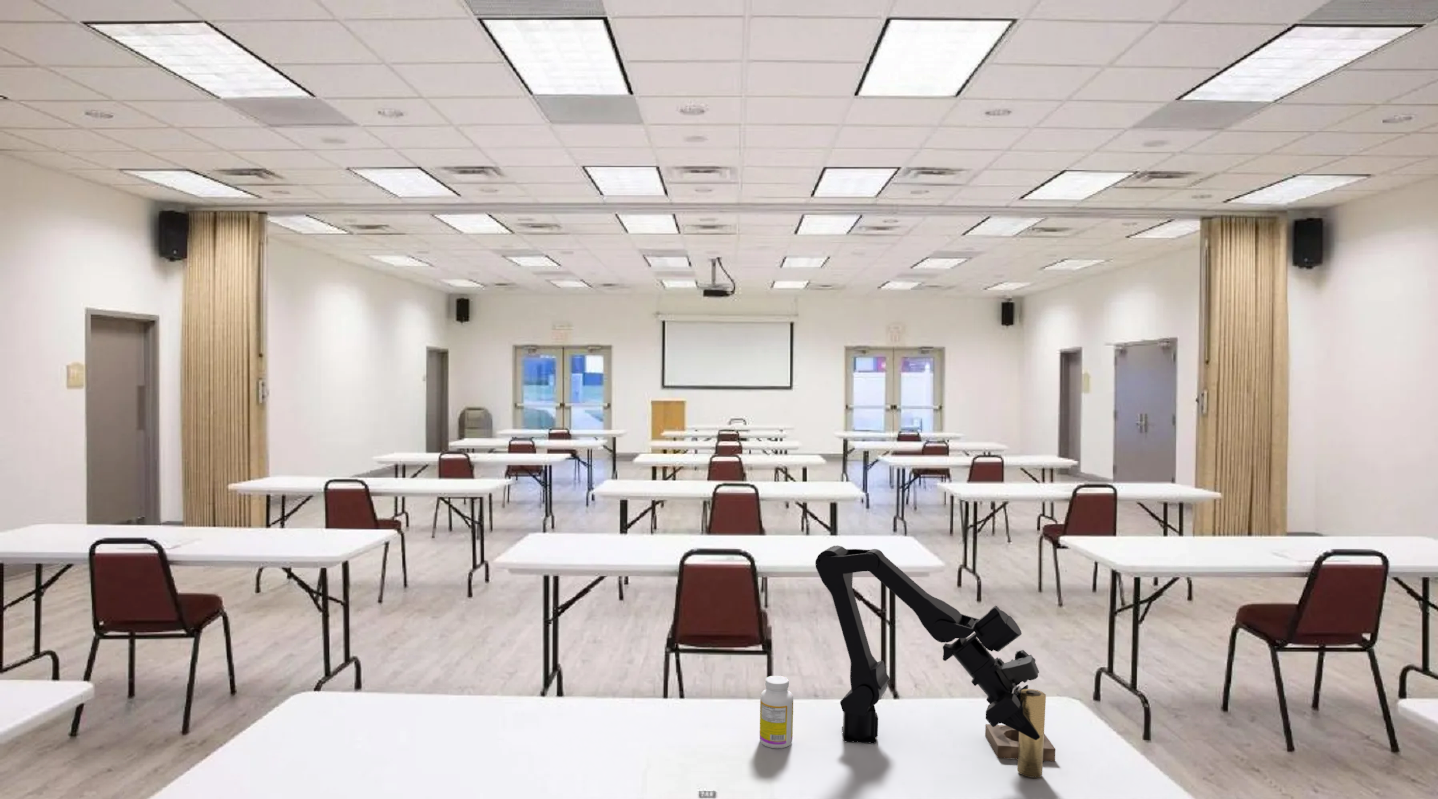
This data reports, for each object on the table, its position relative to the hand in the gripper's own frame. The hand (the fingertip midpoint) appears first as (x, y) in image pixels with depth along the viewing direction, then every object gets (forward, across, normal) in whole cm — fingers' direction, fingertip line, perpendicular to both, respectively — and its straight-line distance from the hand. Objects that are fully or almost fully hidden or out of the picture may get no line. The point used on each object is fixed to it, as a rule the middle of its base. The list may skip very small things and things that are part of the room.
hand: (1039, 733), depth 156 cm
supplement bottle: (-28, -11, +40) cm, 51 cm away
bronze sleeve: (+4, 0, +6) cm, 8 cm away
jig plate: (+3, +11, +9) cm, 14 cm away
